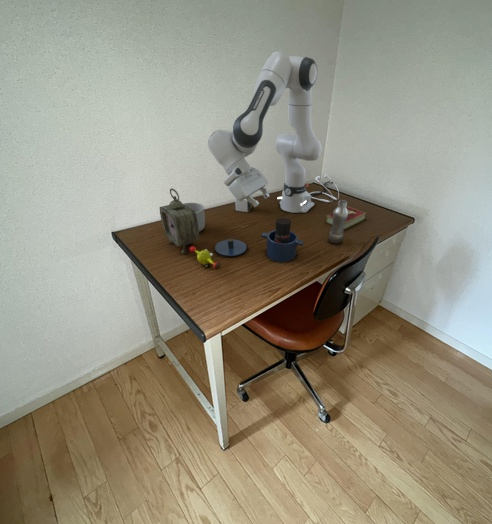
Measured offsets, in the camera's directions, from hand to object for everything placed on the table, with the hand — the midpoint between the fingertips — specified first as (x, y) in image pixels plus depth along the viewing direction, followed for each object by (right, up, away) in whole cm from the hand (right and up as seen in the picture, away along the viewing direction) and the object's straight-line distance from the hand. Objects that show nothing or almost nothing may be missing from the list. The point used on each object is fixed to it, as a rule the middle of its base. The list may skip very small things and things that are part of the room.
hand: (262, 201), depth 105 cm
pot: (+7, -20, +9) cm, 23 cm away
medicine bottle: (-15, +6, +45) cm, 48 cm away
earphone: (+33, +18, +69) cm, 78 cm away
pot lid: (-14, -18, +9) cm, 25 cm away
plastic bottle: (+32, -14, +22) cm, 41 cm away
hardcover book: (+42, -1, +42) cm, 59 cm away
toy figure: (-22, -25, -1) cm, 34 cm away
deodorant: (+7, -20, +9) cm, 23 cm away
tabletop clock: (-34, -17, +9) cm, 40 cm away
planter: (-35, -8, +22) cm, 42 cm away
